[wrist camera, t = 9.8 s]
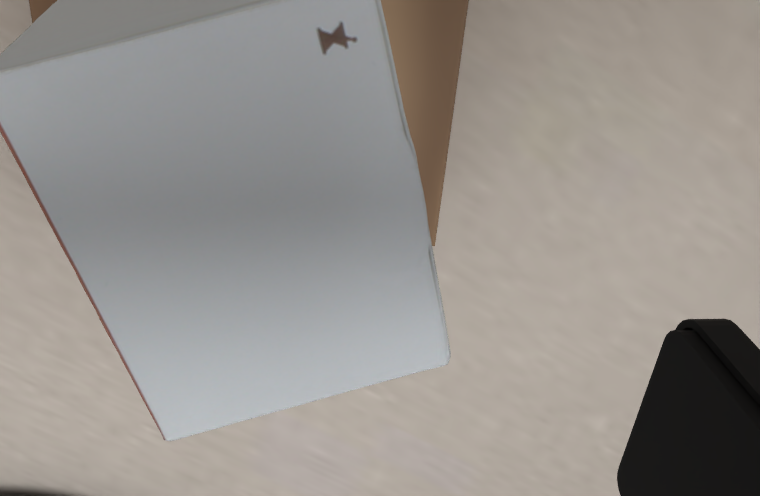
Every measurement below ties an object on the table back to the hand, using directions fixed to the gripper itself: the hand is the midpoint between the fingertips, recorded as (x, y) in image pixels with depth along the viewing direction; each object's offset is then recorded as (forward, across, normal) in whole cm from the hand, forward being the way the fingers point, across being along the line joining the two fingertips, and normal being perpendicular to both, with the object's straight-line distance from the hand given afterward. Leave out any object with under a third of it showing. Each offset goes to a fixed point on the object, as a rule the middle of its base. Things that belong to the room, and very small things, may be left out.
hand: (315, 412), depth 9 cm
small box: (+17, +2, 0) cm, 17 cm away
